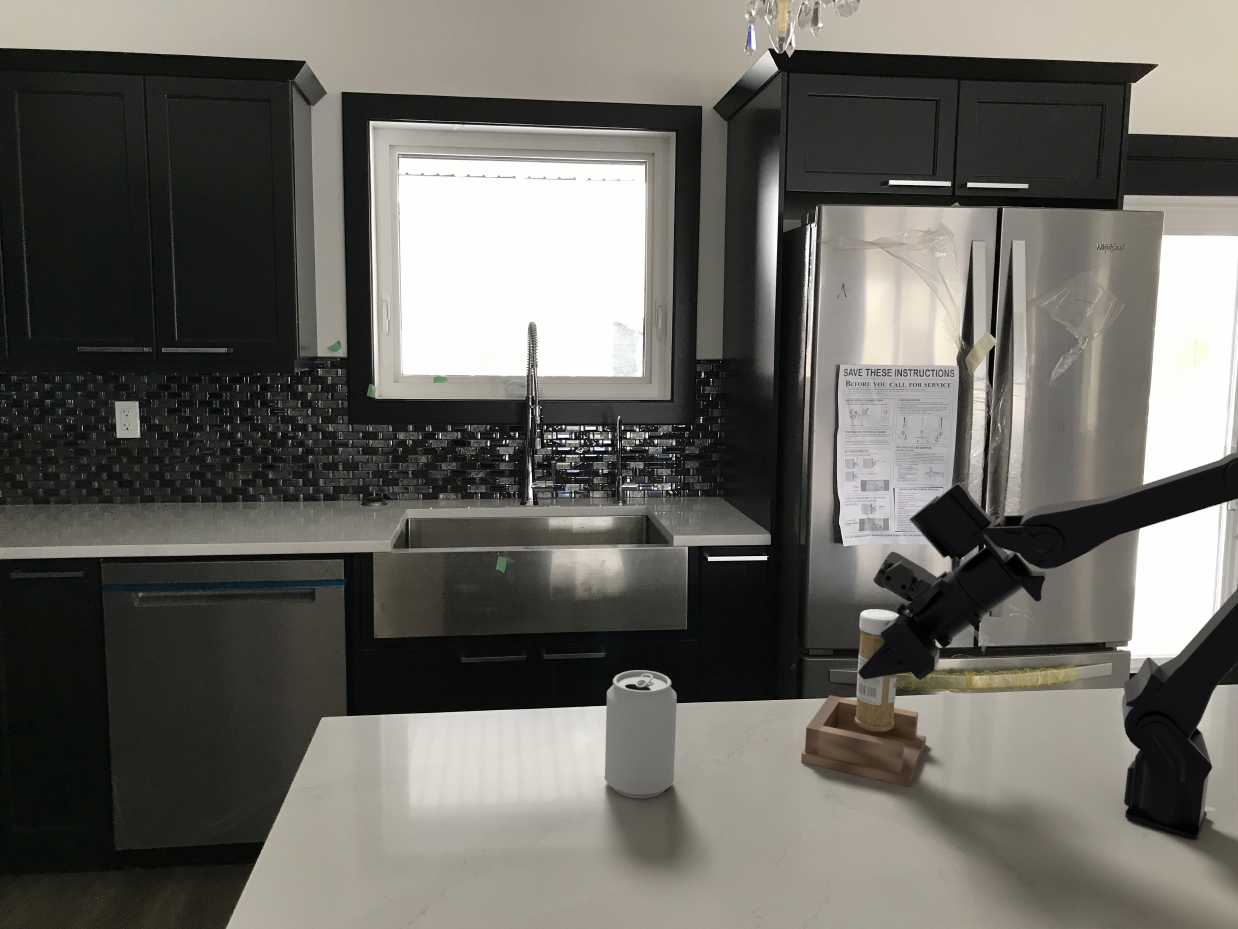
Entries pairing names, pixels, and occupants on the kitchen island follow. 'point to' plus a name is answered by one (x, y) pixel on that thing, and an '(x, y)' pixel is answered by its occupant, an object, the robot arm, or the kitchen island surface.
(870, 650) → the sprinkles bottle
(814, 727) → the walnut cradle
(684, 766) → the kitchen island surface
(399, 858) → the kitchen island surface
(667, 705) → the can
